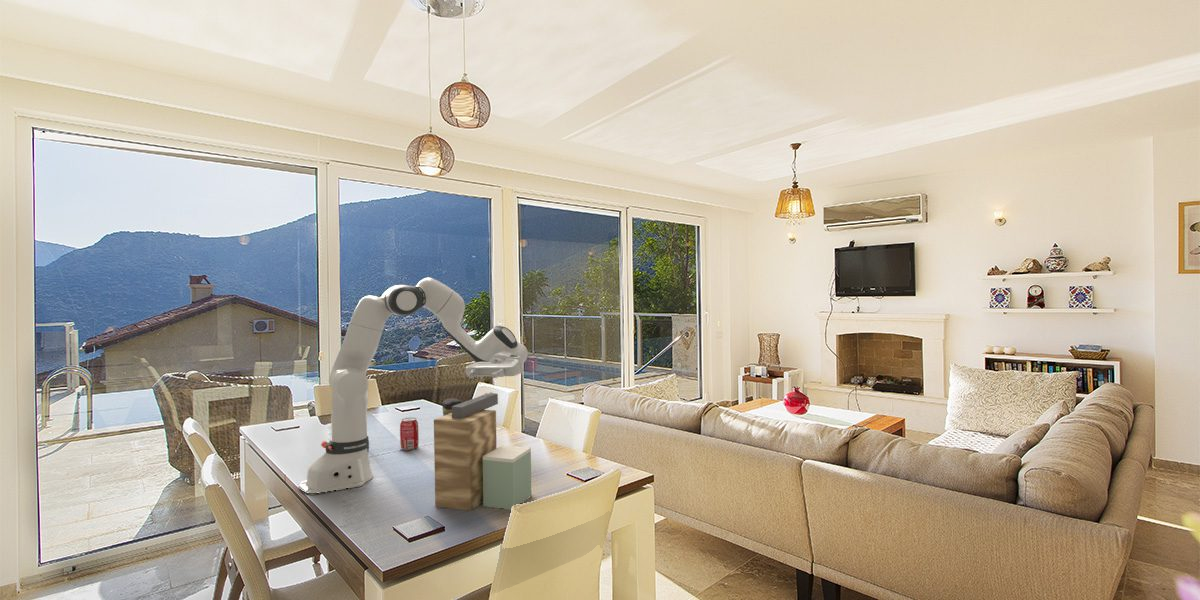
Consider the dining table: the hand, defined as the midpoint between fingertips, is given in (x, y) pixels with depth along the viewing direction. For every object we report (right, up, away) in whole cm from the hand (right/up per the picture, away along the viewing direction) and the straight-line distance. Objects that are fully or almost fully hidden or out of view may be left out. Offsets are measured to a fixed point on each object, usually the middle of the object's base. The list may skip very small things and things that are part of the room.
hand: (482, 376), depth 195 cm
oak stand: (0, -35, -23) cm, 42 cm away
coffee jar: (-20, -34, +39) cm, 55 cm away
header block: (+13, -35, -25) cm, 45 cm away
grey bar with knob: (+2, -9, -18) cm, 20 cm away
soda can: (-36, -34, +31) cm, 59 cm away
